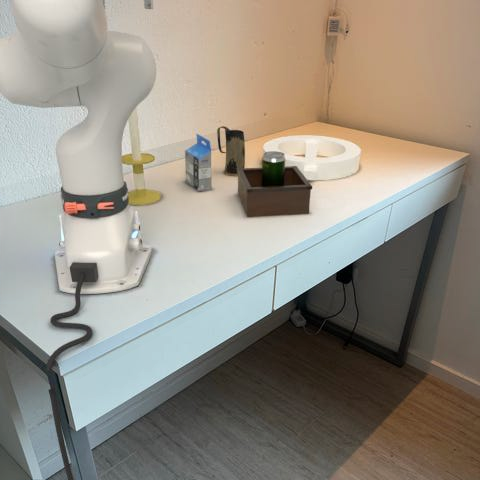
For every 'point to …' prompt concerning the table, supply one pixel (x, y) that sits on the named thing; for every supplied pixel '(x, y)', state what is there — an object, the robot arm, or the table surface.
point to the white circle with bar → (336, 151)
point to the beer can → (273, 169)
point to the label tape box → (199, 164)
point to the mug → (233, 150)
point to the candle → (138, 167)
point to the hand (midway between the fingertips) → (125, 8)
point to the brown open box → (273, 193)
